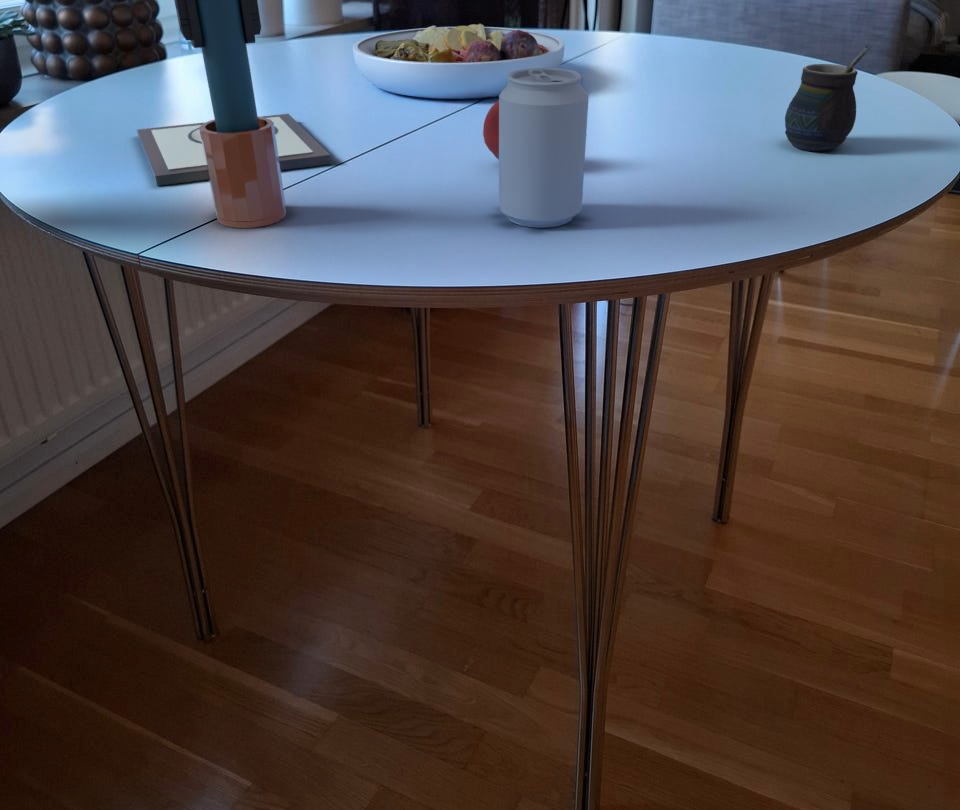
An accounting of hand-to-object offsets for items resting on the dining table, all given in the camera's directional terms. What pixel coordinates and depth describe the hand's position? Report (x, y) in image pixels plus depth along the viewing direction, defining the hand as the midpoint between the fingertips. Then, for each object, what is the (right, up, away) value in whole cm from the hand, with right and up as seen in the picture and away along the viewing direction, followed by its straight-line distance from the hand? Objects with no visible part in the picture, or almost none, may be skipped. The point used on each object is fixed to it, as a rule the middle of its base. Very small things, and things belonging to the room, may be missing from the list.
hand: (223, 43), depth 70 cm
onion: (+24, -3, +20) cm, 32 cm away
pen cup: (0, -12, +8) cm, 14 cm away
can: (+27, -12, +8) cm, 30 cm away
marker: (0, -7, +5) cm, 9 cm away
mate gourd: (+58, +1, +26) cm, 64 cm away
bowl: (+18, +22, +55) cm, 62 cm away
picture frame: (-7, +1, +26) cm, 27 cm away
